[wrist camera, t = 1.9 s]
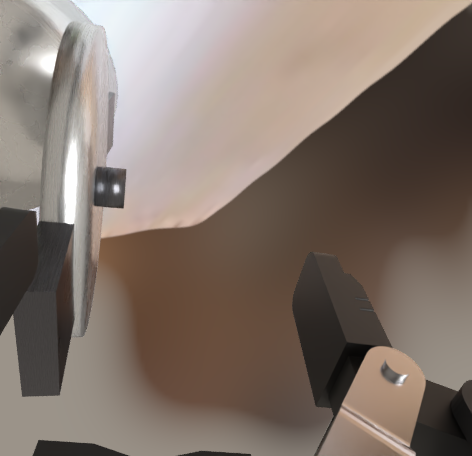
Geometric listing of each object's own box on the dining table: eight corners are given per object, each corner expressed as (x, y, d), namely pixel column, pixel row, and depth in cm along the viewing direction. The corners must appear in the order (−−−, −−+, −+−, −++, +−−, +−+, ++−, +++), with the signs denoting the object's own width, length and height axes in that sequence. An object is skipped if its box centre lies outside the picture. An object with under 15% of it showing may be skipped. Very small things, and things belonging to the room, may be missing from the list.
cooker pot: (138, -50, 38) (110, -60, 27) (122, 206, 51) (99, 262, 41) (-102, -107, 35) (-234, -142, 24) (-51, 180, 48) (-122, 234, 38)
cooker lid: (90, 5, 29) (137, 15, 30) (87, 228, 39) (123, 230, 40) (-12, 87, 10) (124, 107, 11) (31, 483, 20) (102, 477, 21)
